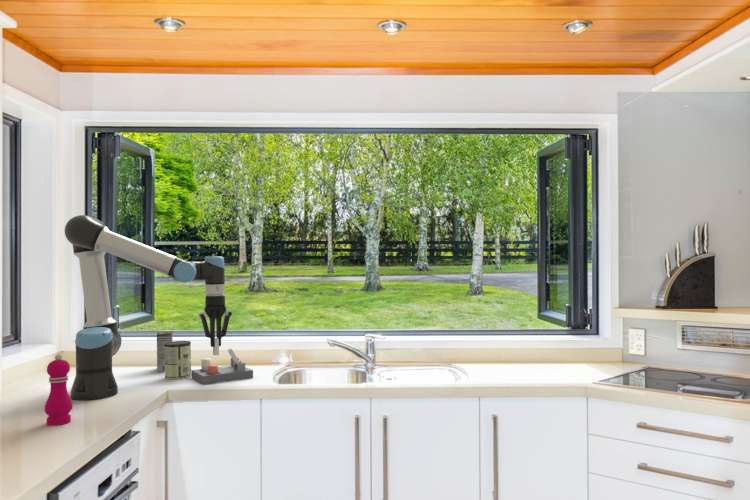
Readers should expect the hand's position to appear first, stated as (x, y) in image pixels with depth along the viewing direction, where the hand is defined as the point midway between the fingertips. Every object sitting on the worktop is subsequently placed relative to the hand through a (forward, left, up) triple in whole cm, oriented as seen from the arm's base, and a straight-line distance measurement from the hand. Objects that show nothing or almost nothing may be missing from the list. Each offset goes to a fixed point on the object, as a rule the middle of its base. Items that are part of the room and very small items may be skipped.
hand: (215, 354), depth 228 cm
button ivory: (-1, +8, -8) cm, 11 cm away
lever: (+10, 0, -6) cm, 11 cm away
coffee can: (-10, +17, -10) cm, 22 cm away
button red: (-2, 0, -9) cm, 9 cm away
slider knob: (+11, +8, -7) cm, 15 cm away
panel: (+4, +4, -10) cm, 11 cm away
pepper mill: (-57, -31, -10) cm, 66 cm away
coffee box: (-10, +38, -10) cm, 40 cm away
